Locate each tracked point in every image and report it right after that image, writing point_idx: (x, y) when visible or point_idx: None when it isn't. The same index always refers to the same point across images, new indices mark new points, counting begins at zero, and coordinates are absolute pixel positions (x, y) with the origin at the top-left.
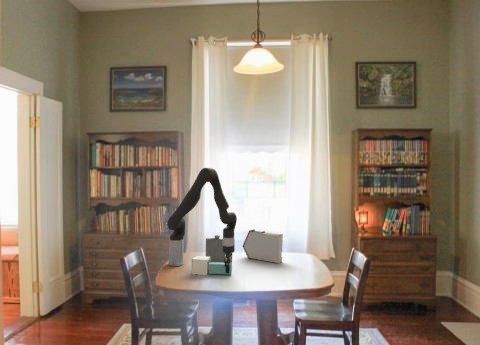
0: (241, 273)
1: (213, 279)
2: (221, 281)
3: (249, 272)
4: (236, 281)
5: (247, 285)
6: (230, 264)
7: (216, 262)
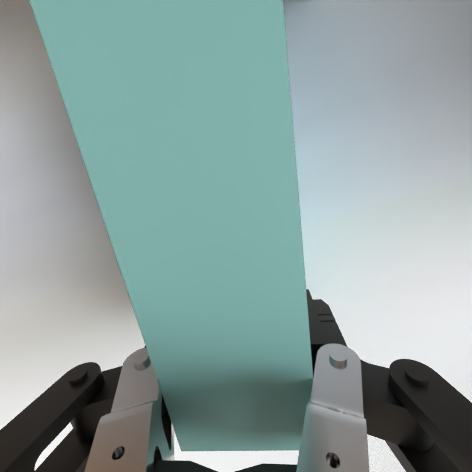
0: None
1: (24, 187)
2: (18, 281)
3: (367, 438)
4: None
5: (48, 451)
6: (191, 445)
7: (268, 111)
